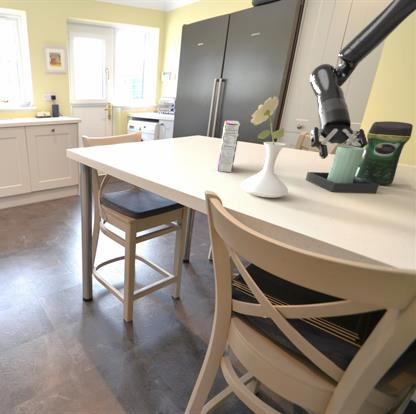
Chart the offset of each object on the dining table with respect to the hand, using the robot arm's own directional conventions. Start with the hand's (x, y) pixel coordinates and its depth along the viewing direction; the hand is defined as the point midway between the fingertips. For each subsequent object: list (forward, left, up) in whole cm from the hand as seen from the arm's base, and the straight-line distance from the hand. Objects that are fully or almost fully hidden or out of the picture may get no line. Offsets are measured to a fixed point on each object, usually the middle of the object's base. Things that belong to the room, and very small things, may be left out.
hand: (340, 158), depth 86 cm
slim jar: (+1, +3, -7) cm, 8 cm away
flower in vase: (+29, +13, -8) cm, 33 cm away
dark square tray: (+1, +3, -8) cm, 9 cm away
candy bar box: (+29, -15, -8) cm, 33 cm away
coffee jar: (-14, -3, -8) cm, 16 cm away
